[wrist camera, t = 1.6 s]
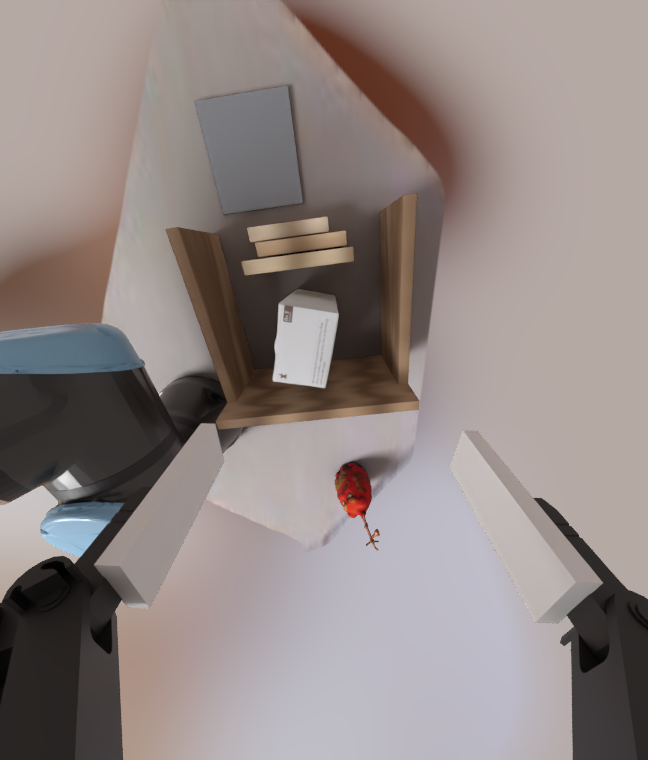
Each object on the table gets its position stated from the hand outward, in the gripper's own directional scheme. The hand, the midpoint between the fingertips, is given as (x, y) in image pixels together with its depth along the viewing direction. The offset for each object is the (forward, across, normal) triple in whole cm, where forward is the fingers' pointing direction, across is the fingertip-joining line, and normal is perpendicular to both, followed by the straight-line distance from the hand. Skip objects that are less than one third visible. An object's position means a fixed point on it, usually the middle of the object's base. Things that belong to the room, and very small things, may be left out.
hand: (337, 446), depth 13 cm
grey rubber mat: (+27, +10, -19) cm, 34 cm away
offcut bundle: (+27, +5, -10) cm, 29 cm away
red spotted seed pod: (+27, -5, +32) cm, 43 cm away
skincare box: (+27, +3, -1) cm, 27 cm away
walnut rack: (+27, +3, -2) cm, 27 cm away
